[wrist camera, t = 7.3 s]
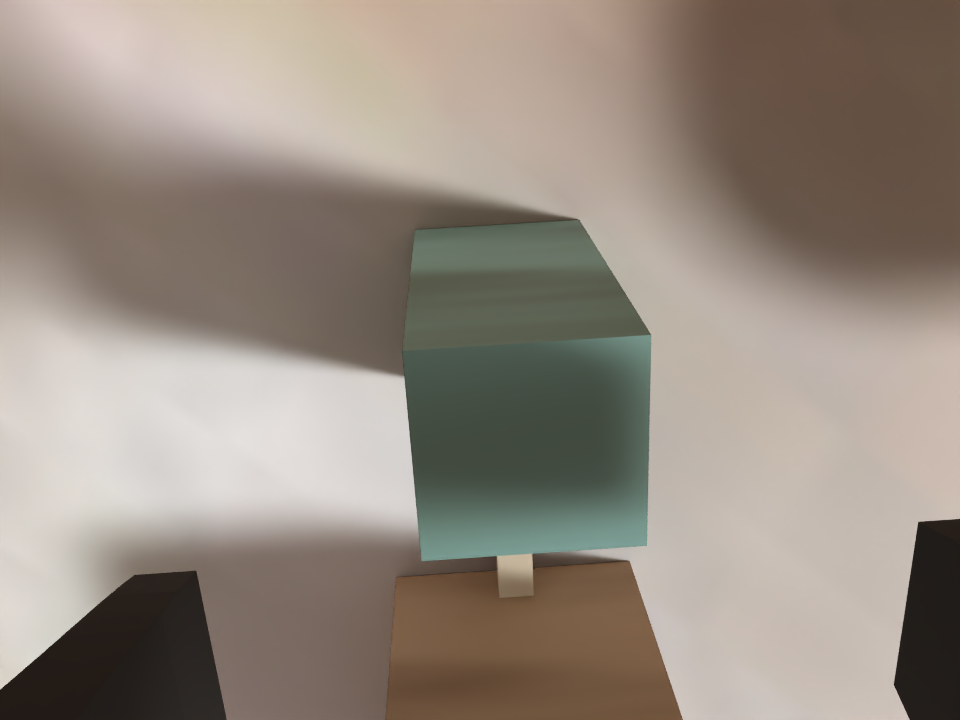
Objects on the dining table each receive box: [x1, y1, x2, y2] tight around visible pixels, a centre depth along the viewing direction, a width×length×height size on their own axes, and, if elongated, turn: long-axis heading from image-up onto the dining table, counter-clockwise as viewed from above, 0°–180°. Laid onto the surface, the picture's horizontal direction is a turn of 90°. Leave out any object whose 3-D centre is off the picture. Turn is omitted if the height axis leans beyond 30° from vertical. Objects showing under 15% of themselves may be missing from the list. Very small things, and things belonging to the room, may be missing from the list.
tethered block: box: [386, 220, 683, 720], centre depth 16 cm, size 12×5×6 cm, turn 3°
